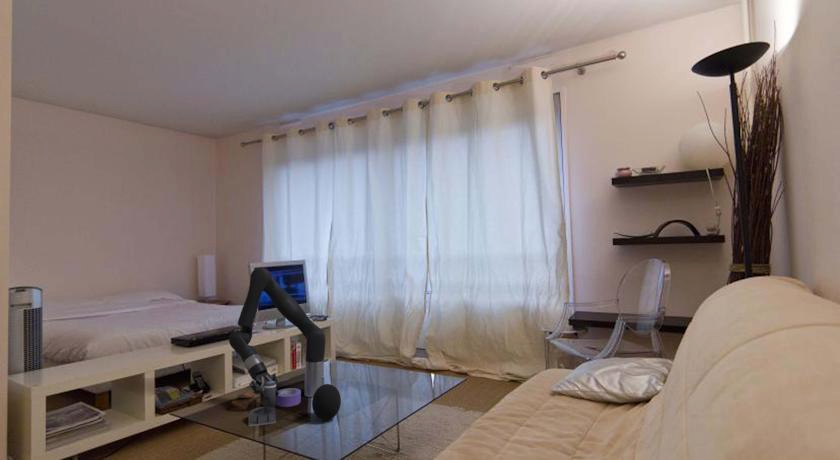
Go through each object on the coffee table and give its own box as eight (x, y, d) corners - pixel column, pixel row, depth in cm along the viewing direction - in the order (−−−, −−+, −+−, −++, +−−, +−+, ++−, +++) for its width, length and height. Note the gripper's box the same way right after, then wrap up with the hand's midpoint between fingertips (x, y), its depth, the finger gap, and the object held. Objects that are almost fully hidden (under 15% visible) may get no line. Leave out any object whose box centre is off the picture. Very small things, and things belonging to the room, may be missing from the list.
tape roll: (277, 408, 190) (277, 397, 190) (273, 400, 200) (273, 389, 201) (302, 404, 195) (303, 394, 196) (298, 396, 206) (298, 386, 206)
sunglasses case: (247, 409, 187) (240, 396, 188) (233, 417, 187) (226, 404, 187) (261, 395, 205) (255, 383, 205) (249, 402, 205) (242, 390, 205)
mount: (274, 413, 184) (275, 405, 184) (276, 423, 174) (276, 414, 174) (248, 416, 180) (249, 408, 180) (248, 426, 170) (249, 417, 170)
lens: (275, 404, 192) (276, 379, 192) (275, 408, 187) (276, 383, 187) (262, 405, 190) (263, 380, 190) (263, 409, 185) (263, 384, 185)
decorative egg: (325, 427, 170) (327, 391, 171) (305, 420, 177) (306, 385, 178) (346, 418, 181) (347, 383, 182) (325, 411, 187) (327, 378, 188)
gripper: (246, 365, 186) (264, 397, 180) (271, 358, 199) (288, 387, 193) (238, 375, 188) (255, 407, 182) (263, 367, 201) (280, 397, 195)
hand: (272, 396), depth 188 cm, fingers closed on lens, 5 cm apart
